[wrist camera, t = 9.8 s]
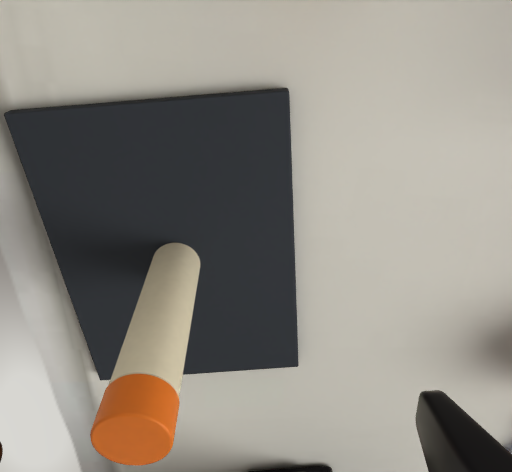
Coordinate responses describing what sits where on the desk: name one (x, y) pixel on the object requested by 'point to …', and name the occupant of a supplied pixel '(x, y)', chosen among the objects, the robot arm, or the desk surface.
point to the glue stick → (150, 364)
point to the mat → (172, 216)
